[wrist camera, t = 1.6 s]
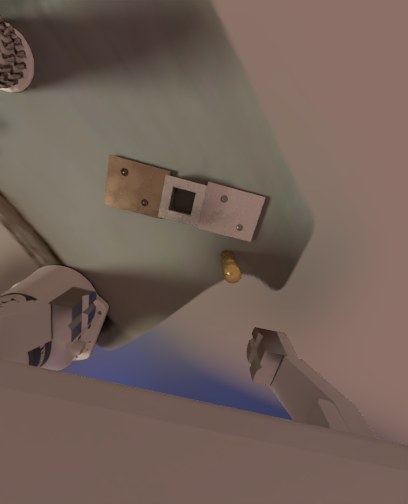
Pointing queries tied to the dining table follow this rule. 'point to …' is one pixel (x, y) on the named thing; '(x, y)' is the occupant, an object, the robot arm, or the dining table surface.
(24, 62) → the decorative candle
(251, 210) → the hinge
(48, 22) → the dining table surface
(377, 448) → the robot arm
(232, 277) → the brass pin
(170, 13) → the dining table surface
